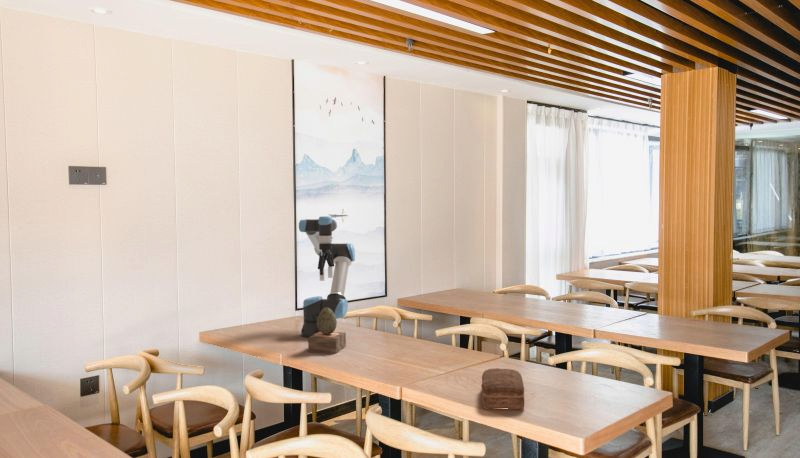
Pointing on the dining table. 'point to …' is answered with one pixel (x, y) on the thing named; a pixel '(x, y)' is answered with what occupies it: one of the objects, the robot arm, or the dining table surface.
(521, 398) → the bread
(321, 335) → the pedestal
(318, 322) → the decorative egg
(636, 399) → the dining table surface
